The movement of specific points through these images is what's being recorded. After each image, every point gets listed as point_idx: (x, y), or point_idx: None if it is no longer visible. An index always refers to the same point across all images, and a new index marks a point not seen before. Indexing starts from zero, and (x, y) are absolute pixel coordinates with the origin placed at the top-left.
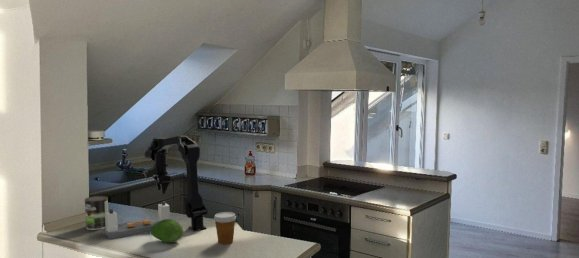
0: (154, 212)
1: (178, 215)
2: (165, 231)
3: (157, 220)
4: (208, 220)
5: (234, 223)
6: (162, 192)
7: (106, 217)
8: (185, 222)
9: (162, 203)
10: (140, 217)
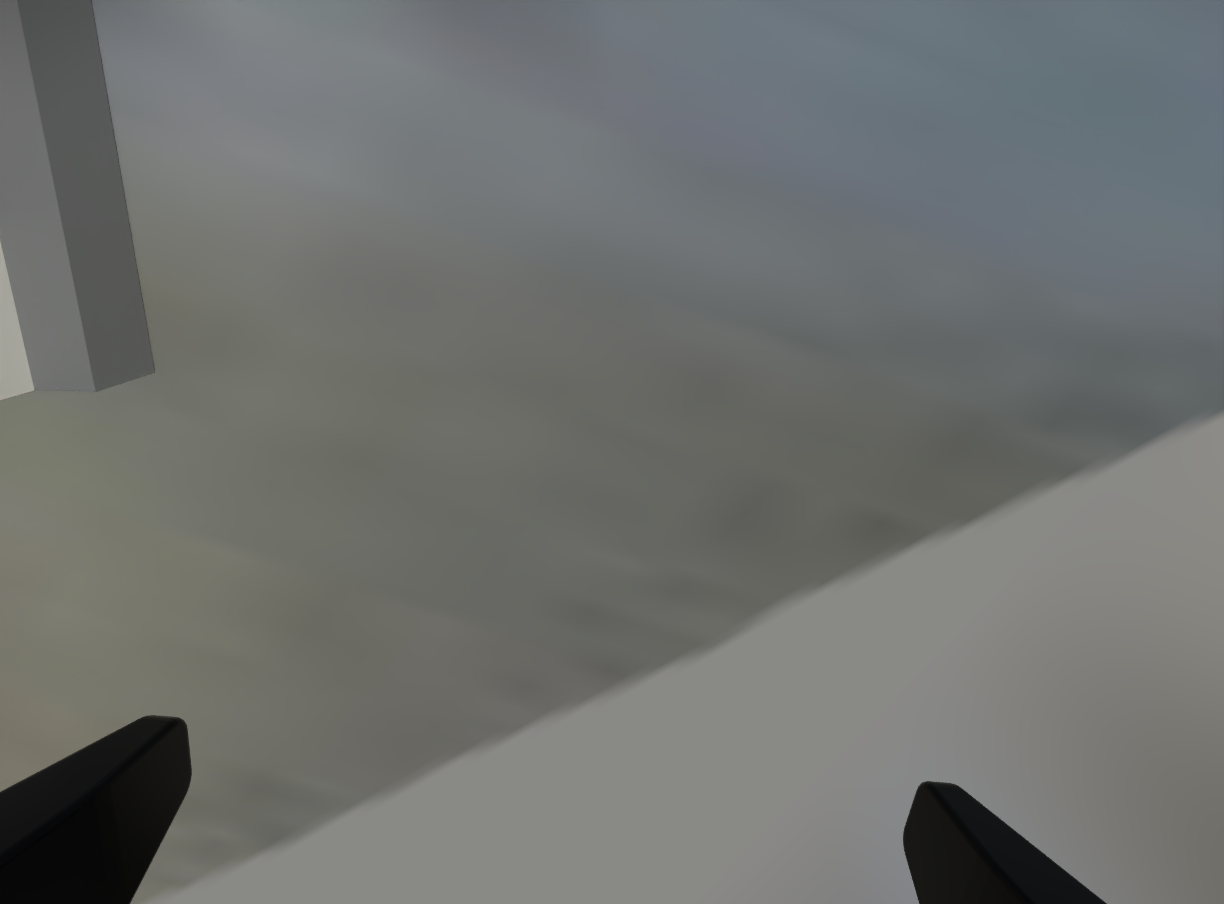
0: (939, 436)
1: (520, 668)
2: None
3: (33, 211)
4: None
5: None
6: (67, 768)
7: None
8: (89, 629)
9: None
10: (811, 119)
